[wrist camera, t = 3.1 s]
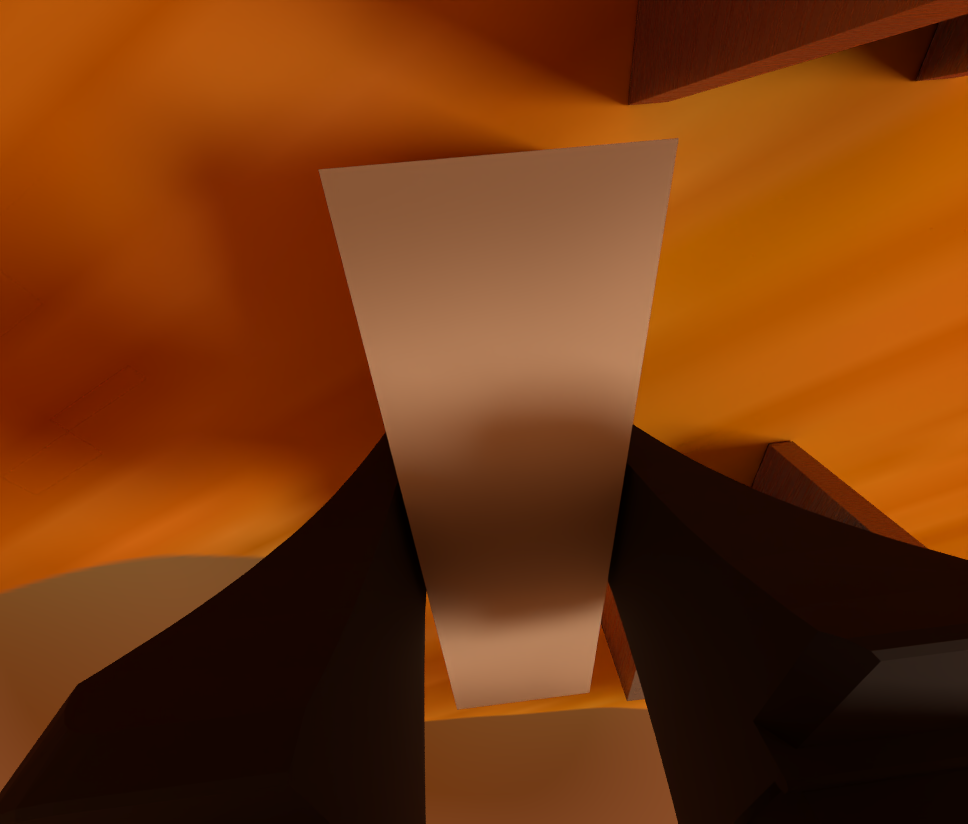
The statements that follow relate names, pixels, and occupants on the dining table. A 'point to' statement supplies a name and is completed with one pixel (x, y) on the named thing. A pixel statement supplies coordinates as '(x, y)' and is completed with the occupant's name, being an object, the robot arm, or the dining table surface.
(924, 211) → the dining table surface
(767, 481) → the open end cap
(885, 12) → the grey rectangular block
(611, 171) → the light brown long block
